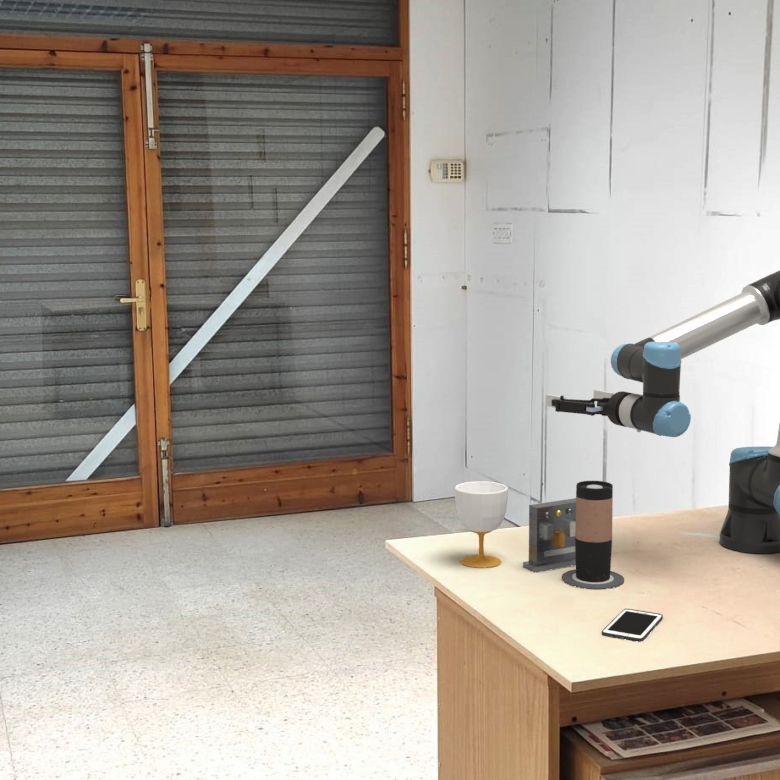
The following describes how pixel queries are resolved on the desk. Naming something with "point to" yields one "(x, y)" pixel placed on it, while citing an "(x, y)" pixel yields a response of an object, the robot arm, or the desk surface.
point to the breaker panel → (551, 535)
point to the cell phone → (632, 625)
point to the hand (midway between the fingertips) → (571, 397)
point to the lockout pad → (572, 580)
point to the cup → (481, 514)
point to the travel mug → (593, 530)
